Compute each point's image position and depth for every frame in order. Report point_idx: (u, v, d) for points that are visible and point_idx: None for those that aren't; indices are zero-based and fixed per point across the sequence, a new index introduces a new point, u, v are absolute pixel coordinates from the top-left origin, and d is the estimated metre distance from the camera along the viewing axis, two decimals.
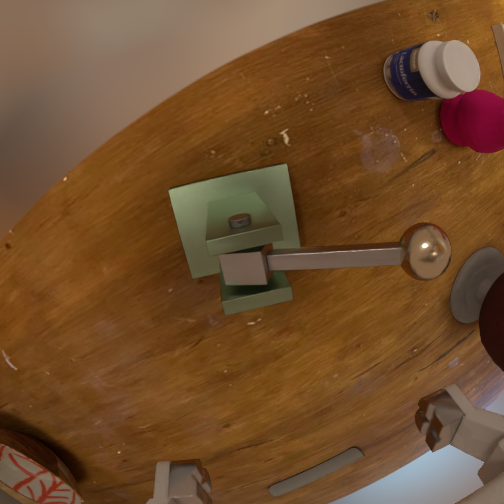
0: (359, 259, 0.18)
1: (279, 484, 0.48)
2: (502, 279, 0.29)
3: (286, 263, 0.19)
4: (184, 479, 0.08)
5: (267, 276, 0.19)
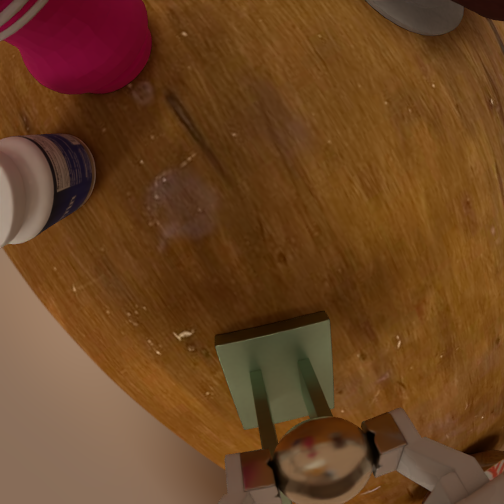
0: None
1: None
2: None
3: None
4: (259, 470, 0.08)
5: None
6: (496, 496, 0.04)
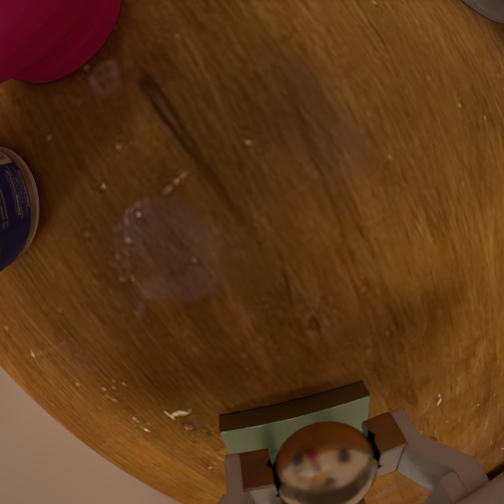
0: None
1: None
2: None
3: None
4: (258, 470, 0.08)
5: None
6: (496, 496, 0.04)
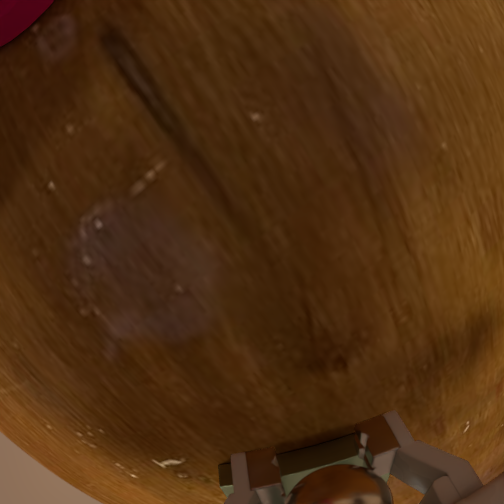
0: None
1: None
2: None
3: None
4: (265, 468, 0.08)
5: None
6: (496, 496, 0.04)
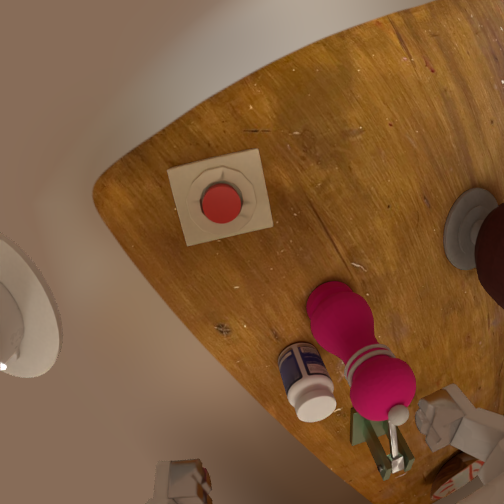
0: (393, 430, 0.39)
1: None
2: None
3: (395, 451, 0.39)
4: (184, 479, 0.08)
5: (400, 456, 0.38)
6: (496, 496, 0.04)
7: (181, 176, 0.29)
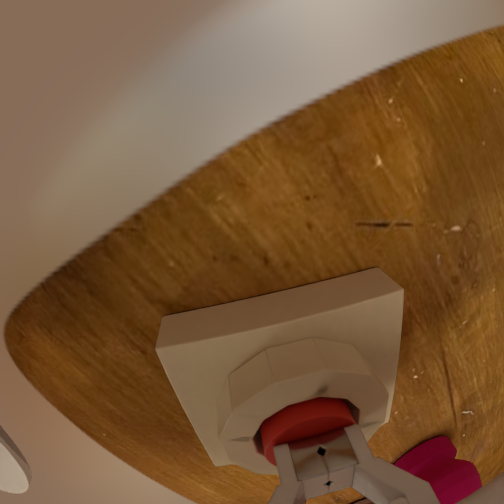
0: None
1: None
2: None
3: None
4: (310, 458, 0.08)
5: None
6: (496, 496, 0.04)
7: (198, 364, 0.10)
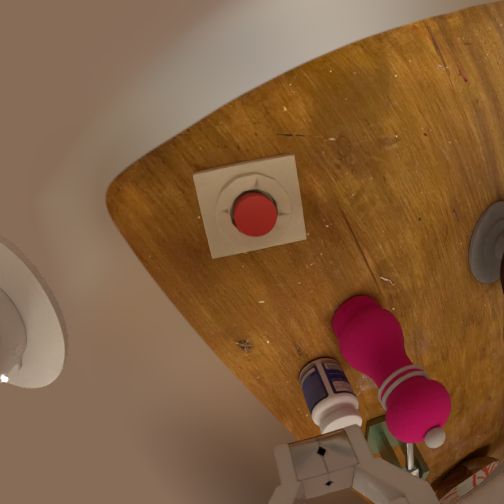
0: (410, 443, 0.37)
1: None
2: None
3: (411, 464, 0.36)
4: (310, 458, 0.08)
5: (415, 469, 0.36)
6: (496, 496, 0.04)
7: (209, 182, 0.27)
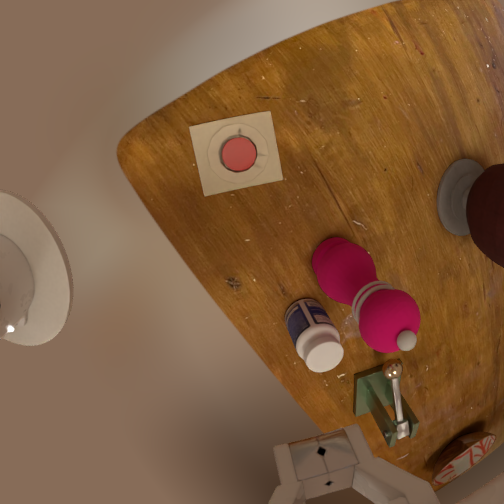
0: (397, 392, 0.42)
1: None
2: (471, 236, 0.35)
3: (400, 415, 0.42)
4: (310, 458, 0.08)
5: (405, 421, 0.41)
6: (496, 496, 0.04)
7: (202, 132, 0.32)
